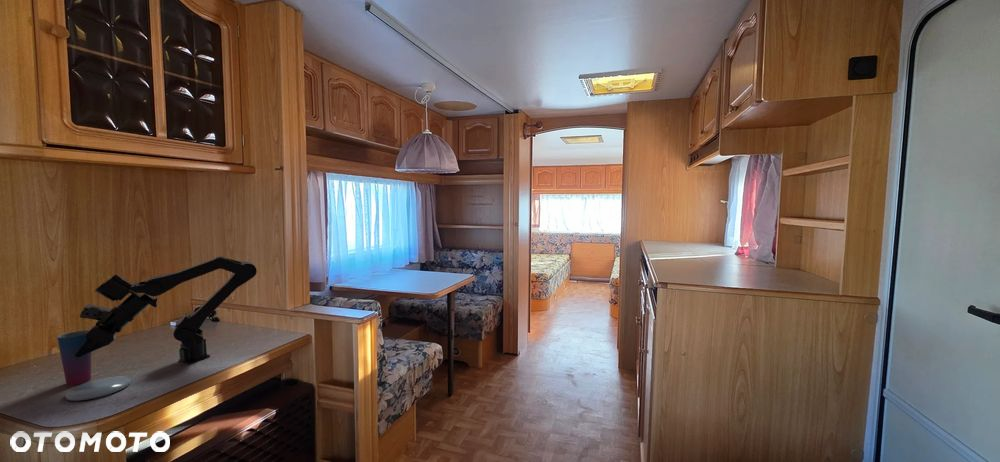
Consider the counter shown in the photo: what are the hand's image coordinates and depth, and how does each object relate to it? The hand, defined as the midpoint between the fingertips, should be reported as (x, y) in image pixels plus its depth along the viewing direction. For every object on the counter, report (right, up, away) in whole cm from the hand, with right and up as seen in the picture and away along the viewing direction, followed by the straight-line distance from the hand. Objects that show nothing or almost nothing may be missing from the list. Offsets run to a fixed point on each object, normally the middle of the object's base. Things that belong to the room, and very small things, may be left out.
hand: (80, 351), depth 116 cm
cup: (-1, -9, 0) cm, 9 cm away
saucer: (+11, -10, -5) cm, 16 cm away
